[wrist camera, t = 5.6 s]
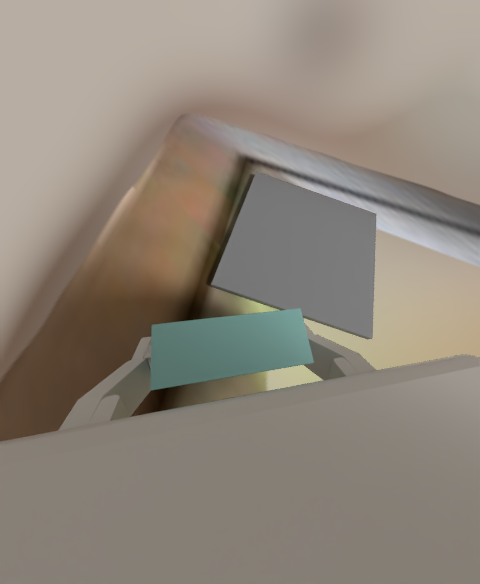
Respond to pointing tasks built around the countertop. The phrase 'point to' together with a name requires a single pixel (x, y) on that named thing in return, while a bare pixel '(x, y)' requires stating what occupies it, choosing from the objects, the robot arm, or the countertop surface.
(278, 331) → the teal board
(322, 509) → the robot arm
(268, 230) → the mat
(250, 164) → the countertop surface
